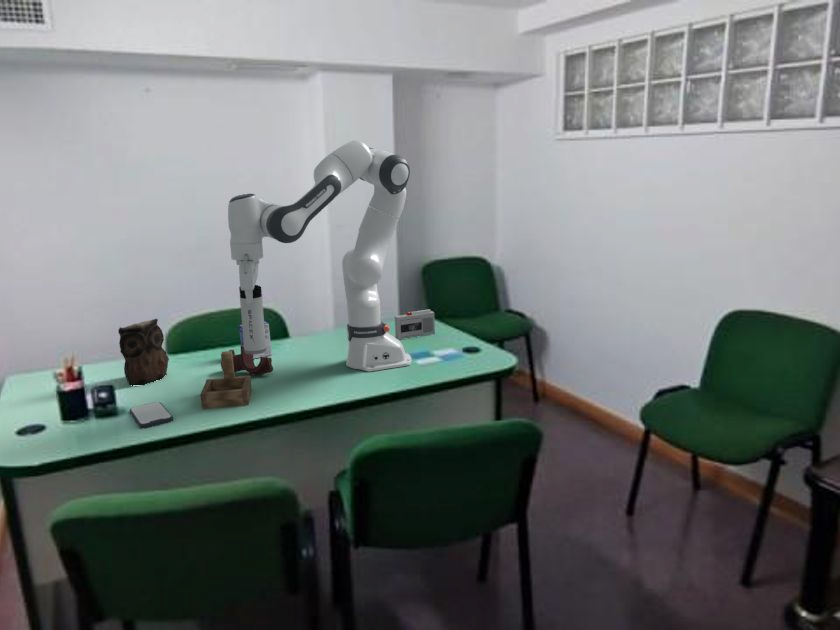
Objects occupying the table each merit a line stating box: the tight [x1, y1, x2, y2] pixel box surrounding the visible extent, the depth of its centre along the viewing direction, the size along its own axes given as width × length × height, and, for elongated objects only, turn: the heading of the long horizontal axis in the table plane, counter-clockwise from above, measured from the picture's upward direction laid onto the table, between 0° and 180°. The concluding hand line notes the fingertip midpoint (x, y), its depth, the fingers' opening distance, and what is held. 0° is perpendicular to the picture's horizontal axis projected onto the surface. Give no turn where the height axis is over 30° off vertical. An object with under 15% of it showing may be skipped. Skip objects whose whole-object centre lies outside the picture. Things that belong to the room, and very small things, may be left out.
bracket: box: [220, 344, 274, 376], centre depth 211 cm, size 6×17×10 cm, turn 78°
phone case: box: [129, 401, 174, 429], centre depth 179 cm, size 9×2×16 cm
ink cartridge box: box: [238, 320, 273, 360], centre depth 228 cm, size 10×6×14 cm, turn 124°
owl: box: [118, 318, 170, 386], centre depth 205 cm, size 13×13×20 cm
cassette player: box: [394, 308, 436, 340], centre depth 247 cm, size 16×3×10 cm, turn 114°
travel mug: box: [238, 284, 266, 355], centre depth 185 cm, size 6×7×20 cm
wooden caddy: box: [199, 350, 253, 410], centre depth 190 cm, size 13×16×12 cm
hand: (250, 299), depth 184 cm, fingers closed on travel mug, 6 cm apart
